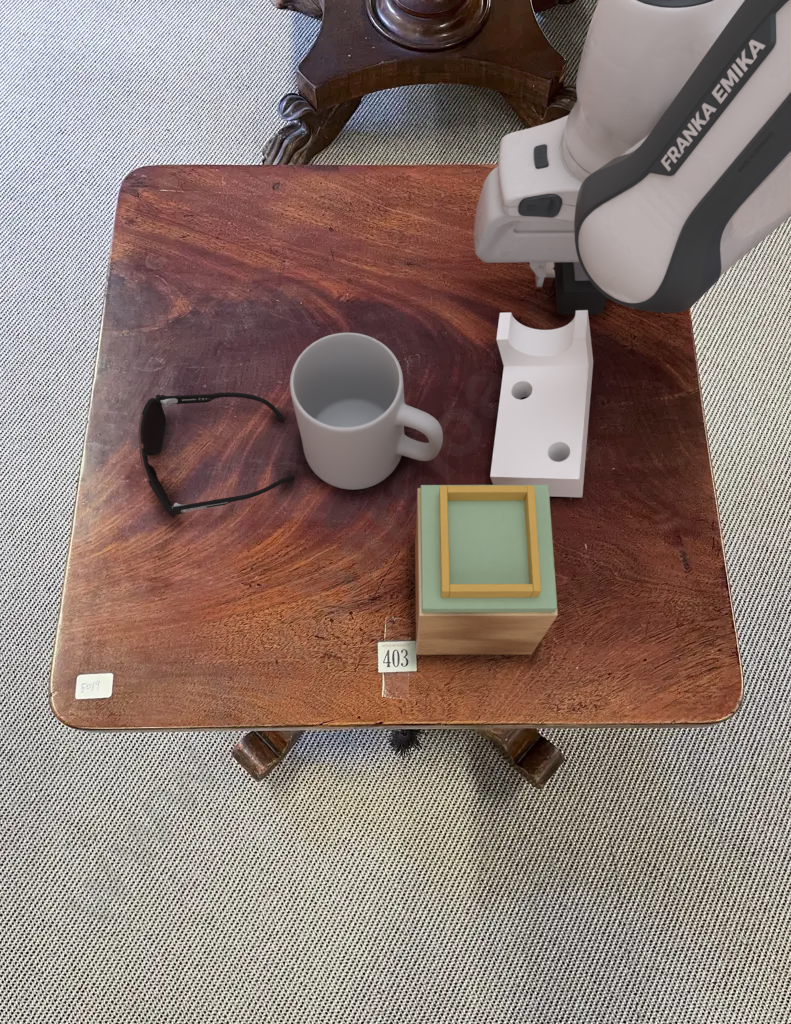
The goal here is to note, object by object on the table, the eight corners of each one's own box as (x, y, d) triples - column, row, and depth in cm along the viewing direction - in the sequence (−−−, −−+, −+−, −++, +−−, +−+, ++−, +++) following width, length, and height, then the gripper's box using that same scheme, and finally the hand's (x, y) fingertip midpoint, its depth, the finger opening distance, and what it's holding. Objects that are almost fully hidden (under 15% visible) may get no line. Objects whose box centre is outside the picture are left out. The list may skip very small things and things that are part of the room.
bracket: (512, 362, 77) (499, 312, 71) (593, 361, 75) (587, 310, 68) (496, 494, 73) (481, 454, 66) (582, 497, 70) (575, 456, 64)
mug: (287, 471, 72) (269, 409, 62) (327, 388, 75) (315, 316, 65) (420, 519, 71) (424, 463, 61) (456, 432, 74) (464, 365, 63)
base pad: (546, 490, 59) (552, 475, 56) (554, 612, 56) (561, 602, 53) (420, 490, 59) (421, 475, 56) (422, 612, 56) (422, 602, 53)
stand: (525, 545, 70) (548, 487, 59) (531, 654, 67) (558, 615, 55) (414, 545, 70) (417, 487, 59) (416, 654, 67) (418, 615, 56)
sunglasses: (142, 418, 74) (133, 388, 70) (280, 403, 76) (280, 373, 72) (153, 531, 70) (144, 507, 66) (298, 511, 73) (299, 487, 68)
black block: (596, 268, 80) (605, 242, 76) (601, 314, 78) (611, 289, 74) (553, 269, 80) (560, 242, 76) (557, 314, 78) (564, 289, 74)
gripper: (748, 134, 66) (691, 251, 78) (480, 135, 66) (467, 252, 79) (761, 200, 63) (700, 309, 76) (484, 201, 63) (470, 311, 76)
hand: (580, 280), depth 77 cm, fingers open, 5 cm apart
